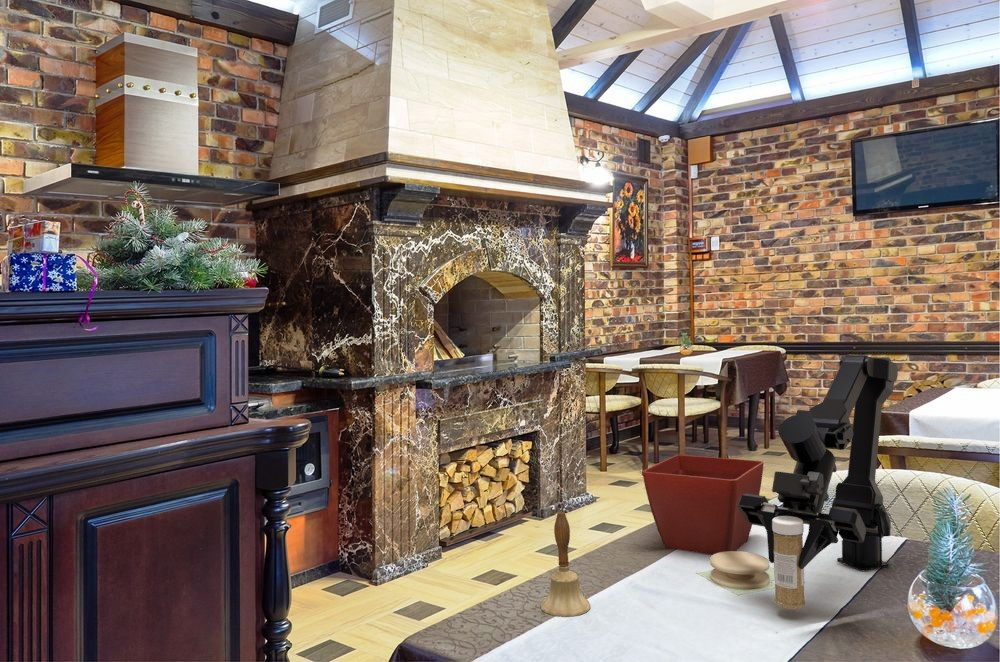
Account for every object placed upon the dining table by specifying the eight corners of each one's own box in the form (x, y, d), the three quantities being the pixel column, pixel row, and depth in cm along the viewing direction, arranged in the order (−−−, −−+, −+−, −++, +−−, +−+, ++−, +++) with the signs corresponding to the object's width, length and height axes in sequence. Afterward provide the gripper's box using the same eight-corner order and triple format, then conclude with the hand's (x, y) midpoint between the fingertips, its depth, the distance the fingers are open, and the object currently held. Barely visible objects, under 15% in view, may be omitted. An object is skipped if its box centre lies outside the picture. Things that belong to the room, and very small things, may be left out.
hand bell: (557, 621, 125) (554, 521, 124) (531, 604, 132) (528, 510, 132) (600, 610, 129) (597, 513, 128) (573, 594, 136) (570, 503, 136)
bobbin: (744, 566, 145) (744, 548, 144) (782, 583, 135) (782, 564, 135) (699, 574, 141) (698, 555, 141) (734, 593, 132) (733, 573, 132)
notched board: (759, 567, 147) (759, 561, 147) (805, 587, 136) (805, 582, 136) (695, 578, 142) (695, 572, 142) (738, 601, 131) (738, 595, 131)
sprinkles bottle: (811, 605, 121) (809, 519, 121) (793, 612, 119) (791, 524, 118) (786, 596, 125) (784, 513, 125) (767, 603, 123) (765, 518, 122)
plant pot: (642, 553, 157) (640, 470, 156) (678, 529, 173) (676, 453, 172) (737, 569, 146) (735, 479, 145) (766, 542, 162) (765, 461, 161)
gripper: (740, 445, 130) (710, 527, 123) (858, 457, 118) (833, 549, 110) (761, 482, 136) (734, 562, 129) (875, 497, 124) (853, 587, 116)
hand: (785, 564), depth 121 cm, fingers closed on sprinkles bottle, 4 cm apart
